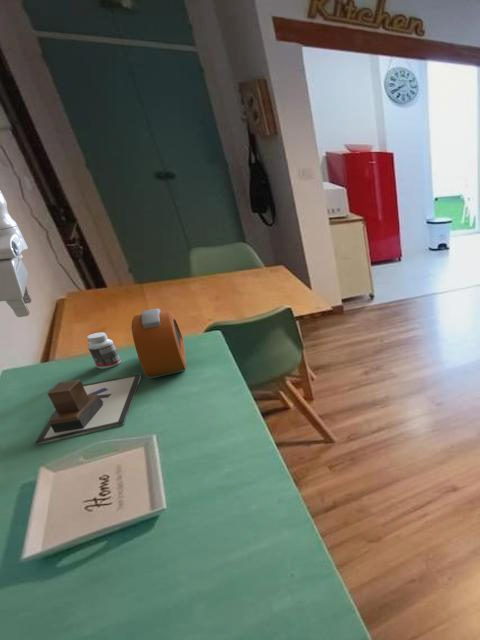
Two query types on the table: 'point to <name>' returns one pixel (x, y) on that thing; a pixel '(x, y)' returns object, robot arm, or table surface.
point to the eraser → (72, 406)
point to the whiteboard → (110, 415)
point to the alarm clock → (158, 343)
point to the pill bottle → (103, 351)
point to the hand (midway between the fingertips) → (25, 308)
